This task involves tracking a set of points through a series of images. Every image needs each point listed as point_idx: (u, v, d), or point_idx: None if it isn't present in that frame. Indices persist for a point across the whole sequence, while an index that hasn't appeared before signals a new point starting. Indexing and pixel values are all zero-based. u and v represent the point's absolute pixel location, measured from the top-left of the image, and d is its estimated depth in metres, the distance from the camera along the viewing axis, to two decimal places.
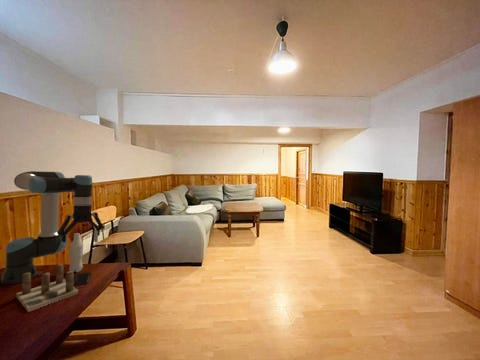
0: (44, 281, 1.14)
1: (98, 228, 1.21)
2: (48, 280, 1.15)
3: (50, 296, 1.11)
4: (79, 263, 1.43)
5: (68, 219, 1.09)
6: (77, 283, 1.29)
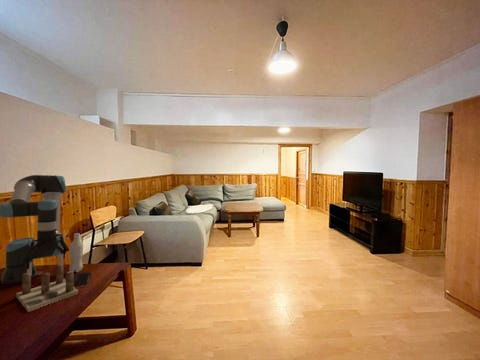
0: (44, 281, 1.14)
1: None
2: (48, 280, 1.15)
3: (50, 296, 1.11)
4: (79, 263, 1.43)
5: None
6: (77, 283, 1.29)
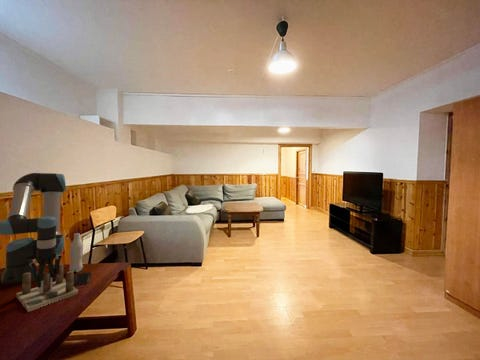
0: (44, 281, 1.14)
1: None
2: (48, 280, 1.15)
3: (50, 296, 1.11)
4: (79, 263, 1.43)
5: None
6: (77, 283, 1.29)
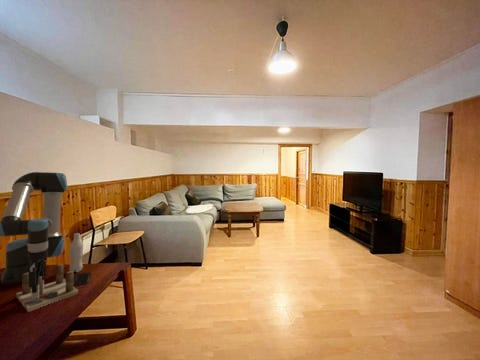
0: (38, 284, 1.10)
1: None
2: (41, 283, 1.12)
3: (53, 296, 1.11)
4: (79, 263, 1.43)
5: None
6: (77, 283, 1.29)
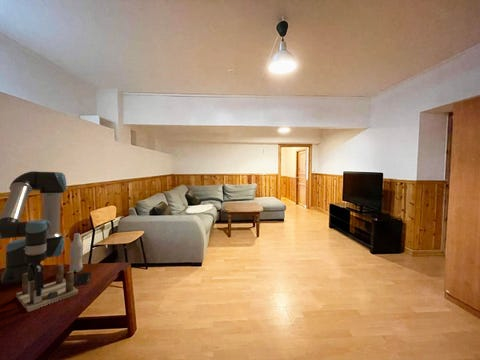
0: None
1: (35, 287, 1.02)
2: None
3: (55, 295, 1.12)
4: (79, 263, 1.43)
5: (28, 264, 1.09)
6: (77, 283, 1.29)
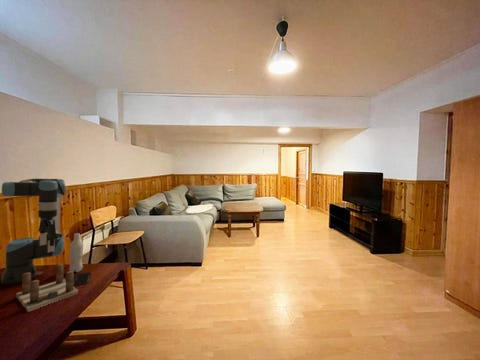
0: (38, 288, 1.07)
1: (49, 238, 1.13)
2: None
3: (55, 295, 1.12)
4: (79, 263, 1.43)
5: None
6: (77, 283, 1.29)
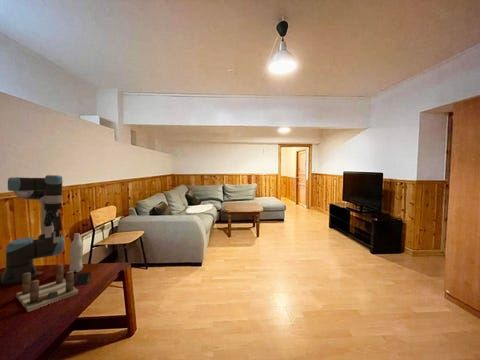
0: (38, 288, 1.07)
1: (54, 229, 1.19)
2: None
3: (55, 295, 1.12)
4: (79, 263, 1.43)
5: (46, 213, 1.27)
6: (77, 283, 1.29)
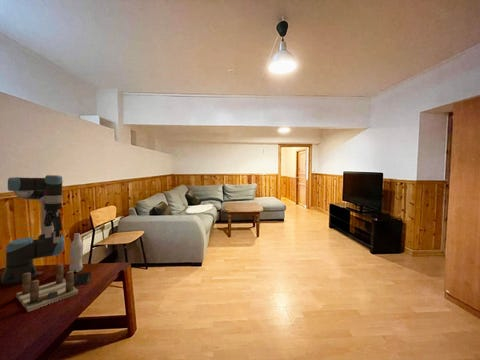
0: (38, 288, 1.07)
1: (54, 229, 1.19)
2: None
3: (55, 295, 1.12)
4: (79, 263, 1.43)
5: (46, 213, 1.27)
6: (77, 283, 1.29)
